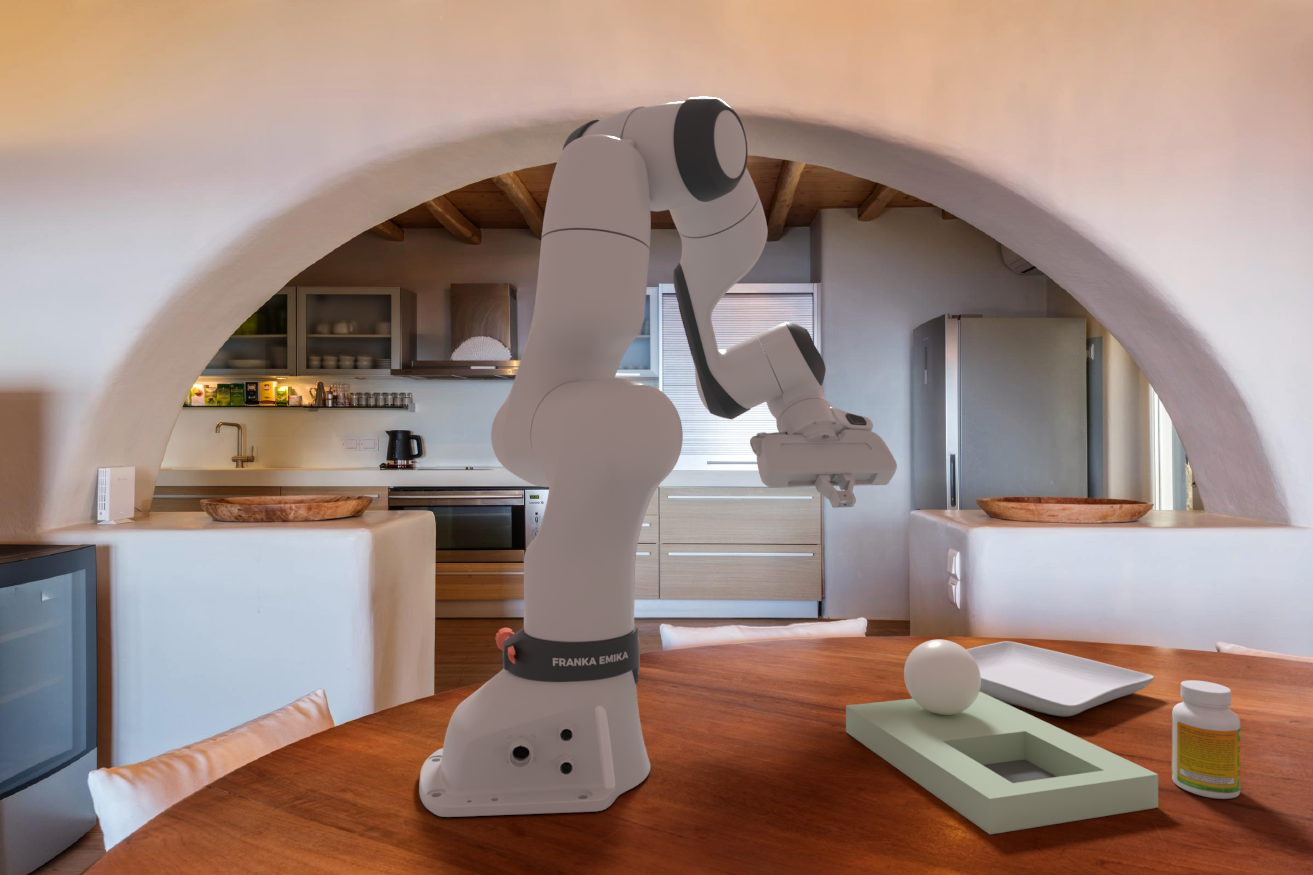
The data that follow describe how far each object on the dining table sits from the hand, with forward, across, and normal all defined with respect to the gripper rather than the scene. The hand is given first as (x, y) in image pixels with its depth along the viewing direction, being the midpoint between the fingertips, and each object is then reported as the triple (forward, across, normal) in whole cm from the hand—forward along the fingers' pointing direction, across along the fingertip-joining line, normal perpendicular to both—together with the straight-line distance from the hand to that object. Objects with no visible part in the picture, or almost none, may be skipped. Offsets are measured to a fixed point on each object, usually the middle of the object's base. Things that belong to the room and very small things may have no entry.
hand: (845, 504), depth 108 cm
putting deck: (+37, 0, -3) cm, 37 cm away
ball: (+27, 0, -3) cm, 27 cm away
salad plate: (+24, +23, +11) cm, 35 cm away
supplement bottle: (+44, +17, -10) cm, 49 cm away
